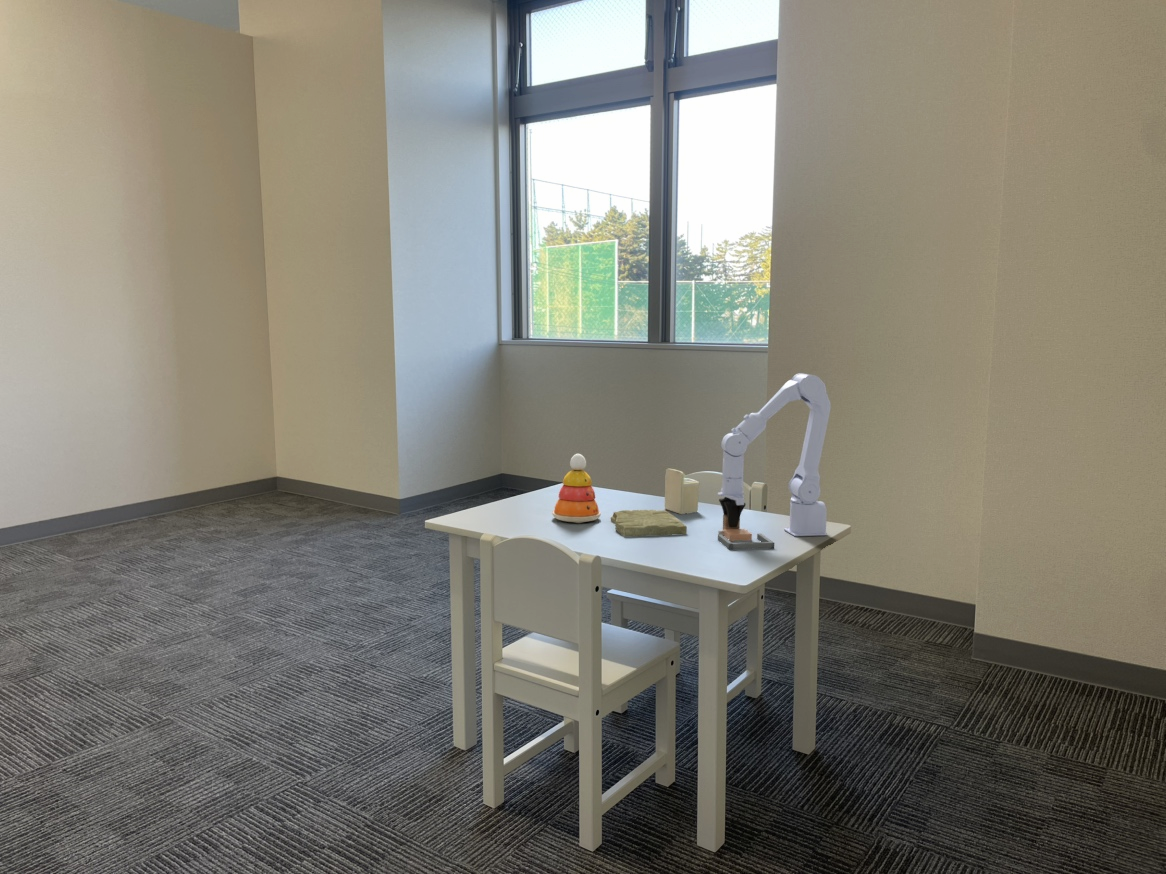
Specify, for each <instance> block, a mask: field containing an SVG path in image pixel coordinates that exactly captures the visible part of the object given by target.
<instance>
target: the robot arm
mask: <svg viewBox="0 0 1166 874" xmlns="http://www.w3.org/2000/svg"><path fill="white" fill-rule="evenodd" d="M826 388H827V387H826V384H825V382H823V381H822V379H821V378H820V377H819V376H818V375H815V374H808V373H805V372H800V373H796V374H795V375H793V377H792V378H791V379H789V380H788V381H786V382H785V383H784V384H783V385H782V386H781V388H780V389H779V390H778V391H777V392H776V393H775V394H774V395H773V396H772V397H771V398H770V399H769V400H768V402H767V403H765V405H763V407H762V408H761V409H760V410H758V411H757V412H751V413H749V414H747V413H746V414H745V415H744V416H743V420H742V421H741V422H740V423H739V424H738V425H737V426H736V427H732V429H731V432H729V433H727V434H725V435H724V436H723V438H722V440H721V442H720V447H721V449H722V450H723V454H722V458H723V459H722V469H721V470H722V471H721V474H722V475H721V477H722V478H721V480H722V481H721V488H720V492H717V496H718V497H723V498H719V499H718V502H719V504H720V506H721V508H722V512H723V515H728V524H729V527H737V526H738V522H739V518H740V519H741V514H742V513H743V511H744V509H745V507H746V505H747V504H746V502H745V497H744V471H745V470H744V465H745V464H744V463H745V461H744V459H745V458H744V456H745V454H744V453H746V451H747V449H748V445H750V444H751V443H752V442H753V441H754V440H755V439H756V438H757V437H759V435H760V434H761V433H762V432H764V430H766V428H767V421H768V420H770V418H772V417H773V416H774V415H775V414H777V413H778V412H779V411H780V410H781V409H783V407H785V406H786V405H787V404H788V403H789V402H795V401H800V400H803V402H804V403H805V404H806V405H807V407H808V409H809V414H808V419H807V424H806V425H807V426H806V430H805V434H804V439H803V445H802V449H801V450H802V451H801V455H800V458H799V463H798V466H797V467H796V468H795V469H794V473H793V477H792V478H791V479H790V481H789V482H788V491H789V492H790V494H791V498H790V508H789V511H790V512H789V527H784V528H783V530H784V531H786V532H787V533H789V534H791V535H792V536H794V537H808V536H809V537H811V536H828V533H827V518H828V516H827V515H828V514H827V513H828V511H827V506H826V503H825V502H824V501H821V500H819V498H820V496H821V491H822V489H821V487H820V480H821V476H820V473H819V466H820V463H821V457H822V452H823V447H824V444H825V443H824V442H825V437H826V433H827V428H828V424H829V419H830V414H831V408H832V404H831V401H830V399H829V395H828V392H827V389H826ZM818 500H819V501H818Z"/></svg>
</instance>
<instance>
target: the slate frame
mask: <svg viewBox="0 0 1166 874" xmlns="http://www.w3.org/2000/svg"><path fill="white" fill-rule="evenodd" d="M756 540H757V542H755V541H753V542H732V541H729V540H728V539H727V538H726V537H724V536H723V535H718V534H717V542H719V543H720V542H721V543H722V544H721V543H720V544H721V545H723V546H724V547H725V546H726V547H727V548H726V547H725V548H726V549H728V550H729V551H736V550H737V551H740V550H771V549H772V550H773V549H775V542H774V541H773V540H771V539H770V538H768V537H767V536H765V535H764V534H762V533H757V534H756ZM760 541H761V542H760Z"/></svg>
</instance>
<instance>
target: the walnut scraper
mask: <svg viewBox="0 0 1166 874" xmlns="http://www.w3.org/2000/svg"><path fill="white" fill-rule="evenodd" d="M740 527H741V517H740V518H739V522H738V526H737V527H729V524H728V515H724V514H723V515H722V530H718V531H717V532H718V534H717V536H718V535H723V529H741V528H740Z"/></svg>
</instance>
